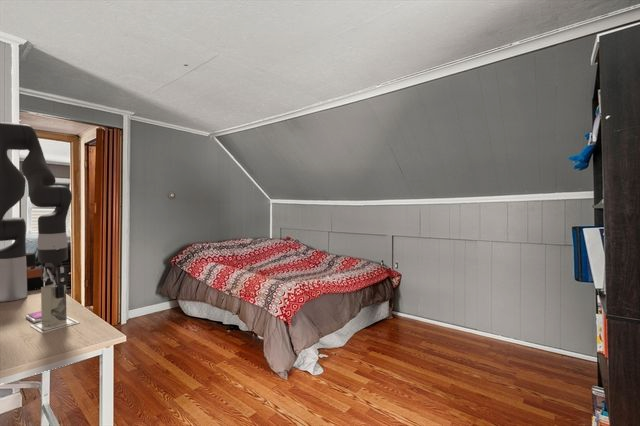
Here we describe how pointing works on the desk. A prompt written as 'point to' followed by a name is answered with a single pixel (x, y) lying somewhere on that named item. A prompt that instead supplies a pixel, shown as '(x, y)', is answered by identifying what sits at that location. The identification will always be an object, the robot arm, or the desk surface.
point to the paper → (47, 329)
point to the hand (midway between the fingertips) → (54, 295)
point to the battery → (34, 278)
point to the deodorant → (31, 260)
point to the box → (52, 307)
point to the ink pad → (35, 317)
